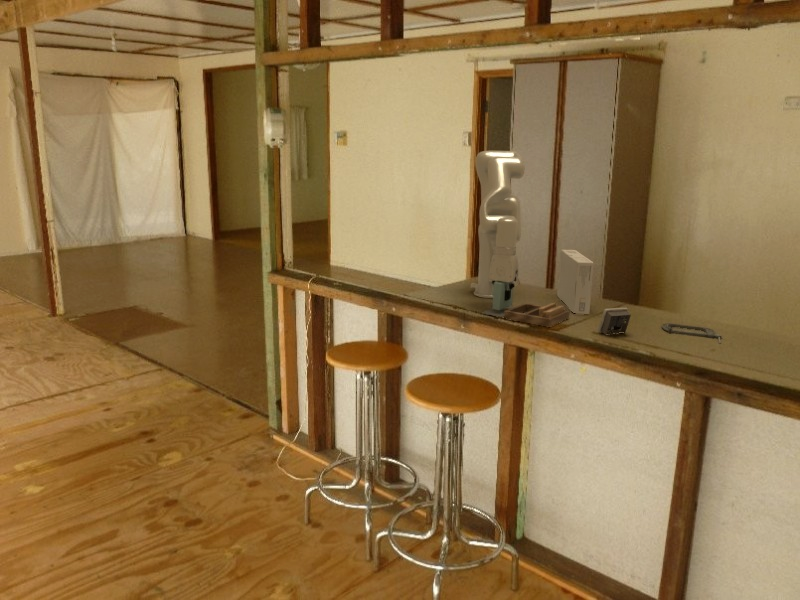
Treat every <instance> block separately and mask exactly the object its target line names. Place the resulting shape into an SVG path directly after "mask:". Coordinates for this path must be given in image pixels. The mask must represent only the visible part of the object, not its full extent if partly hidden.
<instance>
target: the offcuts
mask: <svg viewBox="0 0 800 600" xmlns="http://www.w3.org/2000/svg"><path fill="white" fill-rule="evenodd" d="M564 310H565V306H564V305H559V306H557V303H555V302H551V303H548V304H547V305H544V307H541V308H539V317H544V318H551V317H553V316H555V315H558V314H560V313H562V312H564Z"/></svg>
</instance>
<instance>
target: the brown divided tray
mask: <svg viewBox="0 0 800 600" xmlns="http://www.w3.org/2000/svg"><path fill="white" fill-rule="evenodd" d="M544 306H545V305H544ZM544 306H543V305H538V304H533V303H527V302H525V303H522V304H519V305H516V306H513V307H514V308H511V309H508V310H506V311H504V318H507V319H511V320H510V321H512V320H516V321H515V322H517V321H520V322H519V323H522V322H526V323H525V324H527V323H531V324H530V325H532V324H536V325H535V326H538V325H543V326H548V327H551V326H553V325H555V324H557V323H559V322H561V321H563V320H565V319H568V318H569V319H570V312H571V310H567V309H566V310H565V309H564V312H562V313H560V314H558V315H555V316H553V317H551V318H544V317H539V308H541V307H544ZM523 312H524V313H523ZM504 318H503V319H504ZM507 319H506V320H507ZM569 319H568V320H569ZM565 321H566V320H565ZM563 322H564V321H563ZM561 323H562V322H561ZM559 324H560V323H559ZM557 325H558V324H557ZM543 326H542V327H543ZM555 326H556V325H555ZM548 327H547V328H548ZM553 327H554V326H553ZM551 328H552V327H551Z"/></svg>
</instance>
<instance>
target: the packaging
mask: <svg viewBox="0 0 800 600" xmlns="http://www.w3.org/2000/svg"><path fill="white" fill-rule="evenodd" d="M559 256H560V257H559V268H558V269H559V272H558V283H557V292H556V293H557V294H556V295H557V297H558V299H559V300H560V301H561V300H562V301H563V302H564V303H565V304H566V305H567V306H568V307H569V308H568V307H567V306H566V305H565V304H564V303H563V302H562V301H561V302H562V303H563V304H564V305H565V306H566V307H567V308H568V309H569V311H570V312H571V311H572V312H573V313H584V314H589V315H590V311H591V299H592V290H593V289H592V287H593V275H594V266H595V265H594V264H595V263H594V262H593V261H592V260H590V259H589V258H588V257H586V256H585V255H583V254H582V253H580V252H579V251H578V250H576V249H560V254H559ZM572 312H571V313H572ZM573 313H572V314H573ZM584 314H583V315H584Z"/></svg>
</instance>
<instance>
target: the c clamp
mask: <svg viewBox="0 0 800 600" xmlns="http://www.w3.org/2000/svg"><path fill="white" fill-rule="evenodd" d="M671 327H672V328H671ZM673 327H680V328H679V329H674V328H673ZM683 328H687V329H686V330H685V329H683ZM661 329H662V330H663V331H666V332H667V333H668V334H677V333H679V334H678V335H685V334H687V336H694V335H695V336H696V337H704V338H708V339H709V338H710V339H717V340H718V341H717V342H718V344H719V345H722V340H721V339H722V337H723V335H722V334H716V331H715V330H714V329H712V328H709V327H701V326H695V325H687V324H680V323H678V324H677V323H669V322H668V323H662V324H661ZM680 329H681V330H680ZM682 329H683V330H682ZM691 329H695V330H692V331H690V330H691ZM700 330H701V332H700ZM698 331H699V332H698ZM695 336H694V337H695Z"/></svg>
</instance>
